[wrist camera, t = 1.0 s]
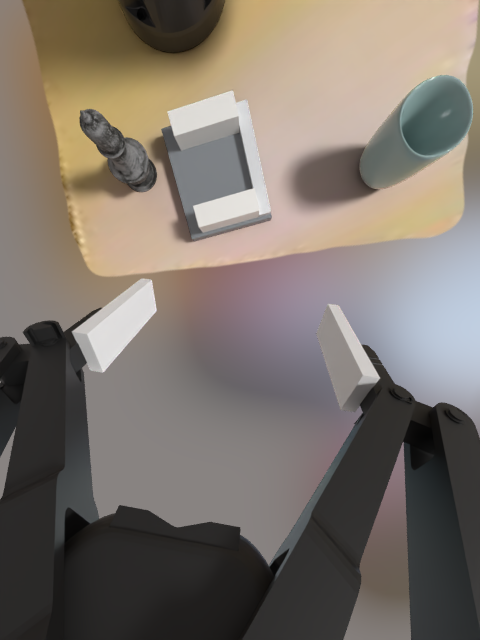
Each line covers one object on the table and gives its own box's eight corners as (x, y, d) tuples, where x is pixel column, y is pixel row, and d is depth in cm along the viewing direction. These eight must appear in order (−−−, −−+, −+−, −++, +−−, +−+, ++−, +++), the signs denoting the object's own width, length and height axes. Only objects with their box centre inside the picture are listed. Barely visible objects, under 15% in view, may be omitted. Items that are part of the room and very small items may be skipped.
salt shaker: (159, 194, 33) (110, 144, 21) (123, 193, 33) (55, 142, 21) (158, 154, 32) (107, 77, 20) (121, 152, 32) (49, 75, 20)
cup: (362, 206, 33) (413, 172, 23) (343, 158, 31) (388, 100, 22) (409, 180, 32) (483, 134, 22) (392, 130, 31) (461, 57, 21)
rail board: (165, 136, 32) (152, 111, 27) (246, 110, 31) (246, 80, 26) (194, 241, 34) (186, 234, 30) (270, 220, 33) (274, 210, 29)
